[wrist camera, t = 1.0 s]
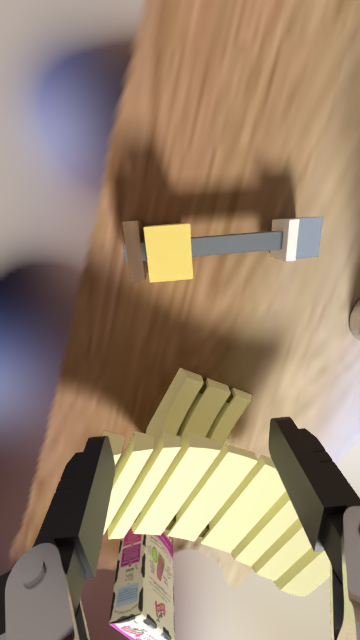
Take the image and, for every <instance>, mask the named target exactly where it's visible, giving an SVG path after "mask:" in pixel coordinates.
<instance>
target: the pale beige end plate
mask: <svg viewBox="0 0 360 640" xmlns="http://www.w3.org/2000/svg"><path fill="white" fill-rule="evenodd" d="M299 220H300V219H279V220H272V231H283V243H282V249H280V250H271V251H270V256H271V257H274V258H277V259H280V260H283V261H295V259H296V249H297V239H298V230H299Z"/></svg>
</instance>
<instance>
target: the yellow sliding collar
mask: <svg viewBox="0 0 360 640" xmlns="http://www.w3.org/2000/svg"><path fill="white" fill-rule="evenodd" d="M143 228H144V236H145V244H146V253H147V261H148V269H149V278H150V282H161V281H173V280H184V279H193V271H192V252H191V233H190V224H188V223H176V224H163V225H151V226H146V227H143Z"/></svg>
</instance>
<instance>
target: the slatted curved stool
mask: <svg viewBox="0 0 360 640" xmlns="http://www.w3.org/2000/svg"><path fill="white" fill-rule="evenodd" d="M251 397H252V394H249V393H246V392H244V391H241V390H238V389H236V388H232V390H229V387H228V385H225V384H222V383H219V382H217V381H214V380H211V379H209V378H207V379H206V381H204V380H203V379H202V376H201V375H198V374H195V373H193V372H190V371H187V370H185V369H182V368H179V370H178V372H177V374H176V376H175V377H174V379H173V381H172V383H171V385H170V387H169V388H168V390H167V392H166V394H165V396H164V398H163V399H162V401H161V403H160V405H159V407H158V408H157V410H156V412H155V414H154V416H153V418H152V419H151V421H150V423H149V425H148V427H147V430H146V434H144V433H141V432H137V431H135V433H134V435H133V437H132V438H131V440H130V442H129V444H128V446H127V447H126V449H125V451H124V453H123V455H122V456H121V453H122V448H123V442H124V436H122V435H118V434H115V433H111V432H108V431H105V430H104V431H103V433H102V436H108V437H109V441H110V445H111V449H112V453H113V456H114V461H115V465H116V463H117V461H118V459H119V457H120V456H121V458H120V460H119V462H118V463H117V465H116V467H115V475H114V481H113V486H112V491H111V497H110V502H109V507H108V512H107V517H106V522H105V528H104V533H105V531H106V530H107V528H108V538H109V539H119V538H124V537H125V535H126V534H127V532H128V530H129V529H130V527H131V526H132V531H133V534H150V535H161V534H162V533H163V531H164V530H166V532H167V536H170V537H177V538H182V539H186V540H190V541H195V540H196V539H197V537H199V540H200V543H201V544H204V545H207V546H210V547H213V548H216V549H219V550H222V551H225V552H228V553H231V554H232V556H233V558H234V560H236V561H239V562H241V563H244V564H246V565H249V566H252V568H253V570H254V572H255V573H256V574H258V575H260V576H262V577H265V578H267V579H270V580H273V582H274V583H275V585H276V586H277V587H278V588H279V589H280V590H281V591H284V592H286V593H289V594H292V595H297V596H306V595H308V594H310V593H311V592H312V591H313V590H314V589H315V588H317V587H318V586H319V585H320V584H321V583H323V582H324V581H325V580H326V579H327V578H329V577H330V560H329V558H328V556H327V554H326V552H325V551H318V552H314V551H313V548H312V546H311V544H310V542H309V540H308V537H307V535H306V533H305V531H304V529H303V526H302V524H301V522H300V520H299V518H298V515H297V513H296V511H295V509H294V507H293V505H292V502H291V500H290V498H289V496H288V494H287V491H286V489H285V487H284V485H283V483H282V480H281V478H280V476H279V474H278V472H277V469H276V467H275V465H274V463H273V461H272V458H269V457H266V456H263V455H261V456H260V458H259V459H258V460H257V457H256V455H255V453H253V452H250V451H247V450H244V449H241V448H238V447H234V446H231V445H228V444H226V445H225V446H224V447H223V445H224V443H225V441H226V439H227V437H228V435H229V434H230V432H231V430H232V429H233V427H234V426H235V424H236V422H237V421H238V419H239V418H240V416H241V415H242V413H243V412H244V410H245V409H246V408H247V406H248V405H249V403H250V402H251ZM222 447H223V449H222ZM221 449H222V450H221ZM104 533H103V535H104Z"/></svg>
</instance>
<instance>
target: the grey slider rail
mask: <svg viewBox="0 0 360 640" xmlns="http://www.w3.org/2000/svg"><path fill="white" fill-rule="evenodd" d="M282 243H283V231H266V232H254V233H241V234H229V235H217V236H204V237H192V238H191V252H192V257H196V256H208V255H220V254H232V253H244V252H256V251H268V250H280V249H282ZM123 247H124V254H125V260H126V262H128V258H127V251H126V245H125V243H124V244H123ZM141 251H142V259H143V261H147V253H146V244H145V241H142V242H141Z"/></svg>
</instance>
